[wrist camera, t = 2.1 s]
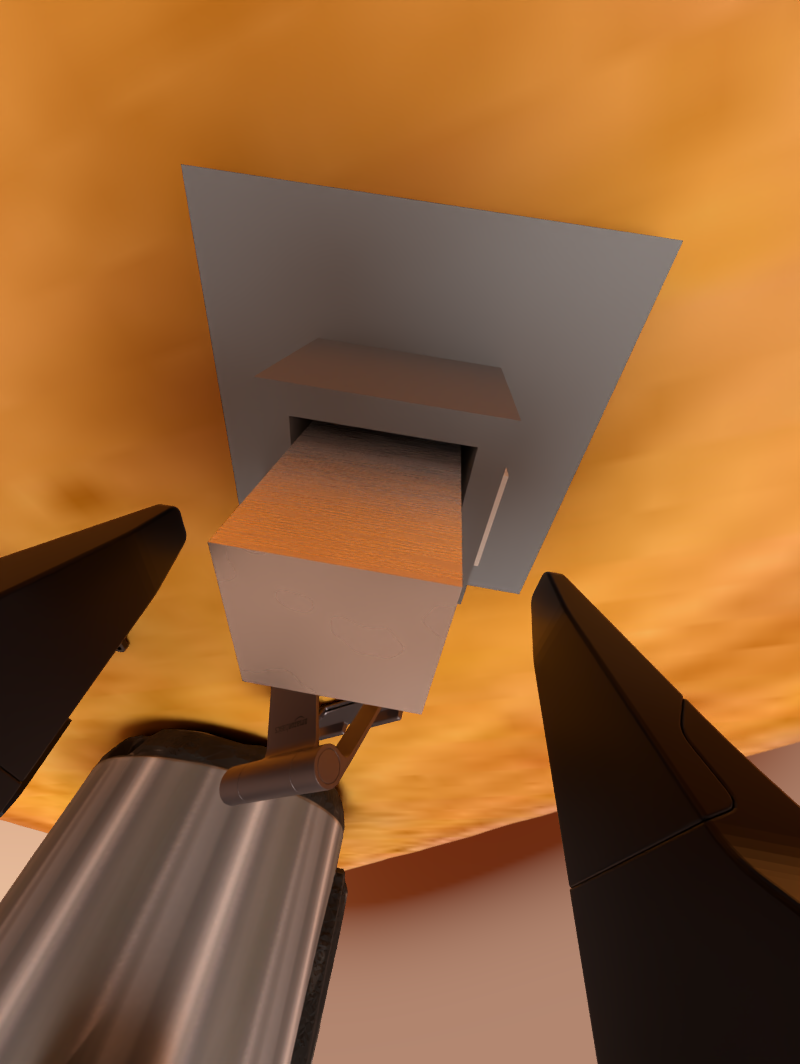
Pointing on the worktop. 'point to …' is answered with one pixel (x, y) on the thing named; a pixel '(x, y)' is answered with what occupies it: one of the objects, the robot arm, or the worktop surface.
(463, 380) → the grey socket plate
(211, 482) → the worktop surface
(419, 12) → the worktop surface
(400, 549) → the steel column
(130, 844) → the pressure cooker
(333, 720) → the portable electronic device stand
